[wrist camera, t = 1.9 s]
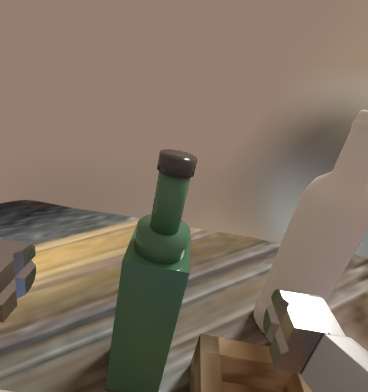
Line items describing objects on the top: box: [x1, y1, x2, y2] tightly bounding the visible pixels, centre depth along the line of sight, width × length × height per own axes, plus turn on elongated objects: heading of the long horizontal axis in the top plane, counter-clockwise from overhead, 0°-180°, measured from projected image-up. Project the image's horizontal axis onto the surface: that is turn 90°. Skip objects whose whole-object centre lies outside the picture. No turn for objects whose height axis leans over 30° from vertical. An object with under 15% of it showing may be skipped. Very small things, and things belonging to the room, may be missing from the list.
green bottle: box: [105, 149, 197, 392], centre depth 25 cm, size 5×5×24 cm
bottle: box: [253, 110, 368, 334], centre depth 34 cm, size 8×8×30 cm
